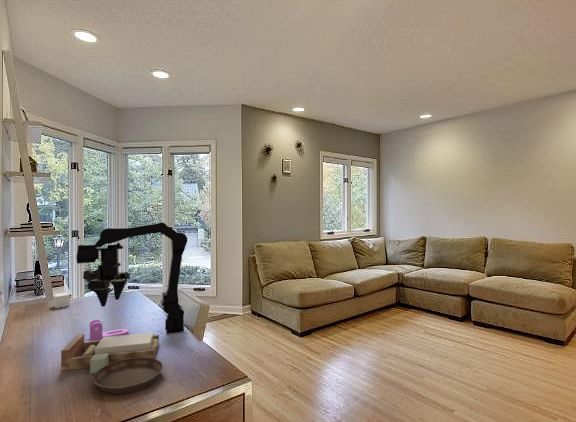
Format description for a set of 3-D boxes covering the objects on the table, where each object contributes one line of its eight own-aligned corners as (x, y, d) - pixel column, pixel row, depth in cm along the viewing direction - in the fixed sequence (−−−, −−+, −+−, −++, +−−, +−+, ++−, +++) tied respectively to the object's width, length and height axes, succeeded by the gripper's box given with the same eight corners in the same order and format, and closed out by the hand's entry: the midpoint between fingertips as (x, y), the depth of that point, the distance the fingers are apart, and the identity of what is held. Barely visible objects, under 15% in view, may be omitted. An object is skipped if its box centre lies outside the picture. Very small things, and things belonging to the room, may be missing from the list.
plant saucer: (174, 379, 95) (174, 368, 95) (108, 406, 82) (108, 394, 82) (145, 361, 107) (145, 352, 107) (83, 382, 94) (83, 371, 94)
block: (108, 366, 103) (108, 353, 103) (105, 372, 99) (105, 358, 99) (94, 367, 102) (94, 354, 102) (90, 373, 98) (90, 360, 98)
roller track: (159, 343, 121) (159, 326, 121) (154, 360, 107) (154, 341, 107) (77, 351, 114) (77, 334, 114) (61, 370, 100) (61, 350, 100)
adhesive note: (52, 306, 171) (52, 294, 171) (66, 304, 175) (66, 292, 175) (55, 308, 167) (56, 296, 167) (69, 306, 171) (69, 294, 171)
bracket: (90, 342, 122) (90, 323, 122) (89, 338, 127) (89, 320, 127) (129, 335, 130) (129, 317, 130) (127, 331, 134) (127, 314, 134)
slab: (153, 339, 118) (153, 332, 118) (149, 350, 109) (149, 342, 109) (103, 344, 114) (103, 337, 114) (94, 356, 105) (94, 348, 105)
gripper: (102, 258, 134) (103, 296, 134) (71, 265, 116) (72, 310, 116) (129, 257, 134) (130, 296, 134) (103, 265, 116) (104, 310, 116)
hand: (110, 303), depth 125 cm, fingers open, 9 cm apart
